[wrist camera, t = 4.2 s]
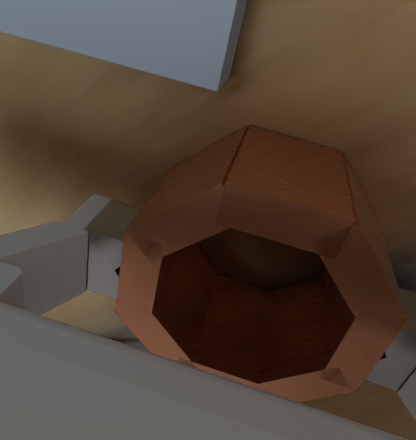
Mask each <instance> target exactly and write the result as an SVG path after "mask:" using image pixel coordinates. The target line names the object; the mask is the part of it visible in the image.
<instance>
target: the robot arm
mask: <svg viewBox="0 0 416 440" xmlns="http://www.w3.org/2000/svg"><path fill="white" fill-rule="evenodd" d="M141 209H142V208H139V207H136V206H133V205H130V204H127V203H124V202H121V201H117V200H113V199H112V198H108V197H105V196H102V195H98V194H93V195H91V196H90V197H89V198H88V199H87V200H86V201H85V202H84V203H83V204H82V205H81V206H80V207H79V208H78V209H77V210H76V211H75V212H73V213H72V214H71V215H70V216H69V217H68V218H67V219H66V220H65V221H64V222H63V223H60V222H53V223H48V224H44V225H40V226H36V227H32V228H28V229H24V230H20V231H16V232H12V233H8V234H4V235H0V440H409V439H406V438H403V437H400V436H397V435H394V434H391V433H388V432H385V431H382V430H379V429H376V428H373V427H370V426H367V425H364V424H362V423H359V422H356V421H353V420H350V419H347V418H344V417H341V416H338V415H335V414H332V413H329V412H326V411H323V410H320V409H317V408H314V407H311V406H308V405H305V404H302V403H299V402H296V401H293V400H290V399H287V398H284V397H281V396H278V395H275V394H272V393H270V392H267V391H264V390H261V389H258V388H255V387H252V386H249V385H246V384H243V383H240V382H237V381H234V380H231V379H228V378H225V377H222V376H219V375H216V374H213V373H210V372H207V371H204V370H201V369H198V368H195V367H192V366H189V365H186V364H183V363H180V362H177V361H174V360H171V359H168V358H165V357H162V356H160V355H157V354H154V353H151V352H148V351H145V350H142V349H139V348H136V347H133V346H130V345H127V344H124V343H121V342H118V341H115V340H112V339H109V338H106V337H103V336H100V335H97V334H94V333H91V332H88V331H85V330H82V329H79V328H76V327H73V326H70V325H67V324H64V323H61V322H58V321H55V320H52V319H49V318H46V317H43V316H40V315H41V314H43V313H45V312H47V311H49V310H51V309H53V308H55V307H57V306H59V305H60V304H62V303H64V302H66V301H68V300H70V299H72V298H74V297H76V296H78V295H80V294H81V293H83V292H85V291H86V290H89V291H92V292H96V293H99V294H102V295H106V296H109V297H112V298H116V299H117V290H118V281H119V272H120V263H121V253H122V244H123V235H124V232H125V230H126V229H127V228H128V226H129V225H130V224H131V222H132V221H133V220H134V218H135V217H136V216H137V214H138V213H139V212H140V210H141ZM399 291H400V295H401V298H402V302H403V305H404V308H405V312H406V315H407V318H406V319H407V322H406V323H405V325H404V326H403V327H402V329H401V330H400V332H399V333H398V334H397V336H396V337H395V339H394V340H393V341H392V343H391V344H390V346H389V347H388V348H387V350H386V351H385V353H384V354H383V355H382V357H381V358H380V360H379V361H378V362H377V364H376V365H375V367H374V368H373V369H372V371H371V372H370V374H369V375H368V376H367V378H366V379H365V380H366V381H369V382H372V383H375V384H377V385H380V386H383V387H386V388H389V389H392V390H394V391H397V392H398V393H397V394H398V395H399V397H400V398H401V400H402V402H403V403H404V405H405V406H406V408H407V409H408V411H409V412H410V414H411V415H412V417H413V418H414V420H415V421H416V293H415V292H412V291H408V290H405V289H401V288H399Z"/></svg>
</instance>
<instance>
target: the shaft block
mask: <svg viewBox="0 0 416 440" xmlns="http://www.w3.org/2000/svg"><path fill="white" fill-rule="evenodd" d="M246 4H247V0H0V32H4V33H8V34H11V35H15V36H18V37H22V38H26V39H29V40H33V41H37V42H40V43H44V44H47V45H51V46H55V47H58V48H62V49H65V50H69V51H73V52H76V53H80V54H83V55H87V56H91V57H94V58H98V59H101V60H105V61H109V62H112V63H116V64H120V65H123V66H127V67H130V68H134V69H138V70H141V71H145V72H148V73H152V74H156V75H159V76H163V77H166V78H170V79H174V80H177V81H181V82H185V83H188V84H192V85H195V86H199V87H203V88H206V89H210V90H213V91H218V90H219V89H220V88H221V87H222V86H223V84H224V83H225V82H226V81H227V80H228V79H229V77H230V73H231V69H232V64H233V60H234V56H235V51H236V47H237V43H238V38H239V34H240V30H241V25H242V21H243V17H244V13H245V8H246Z"/></svg>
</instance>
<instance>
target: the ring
mask: <svg viewBox="0 0 416 440" xmlns="http://www.w3.org/2000/svg"><path fill="white" fill-rule="evenodd" d="M229 228H234V229H237V230H240V231H243V232H247V233H250V234H253V235H257V236H260V237H263V238H266V239H270V240H273V241H276V242H280V243H283V244H286V245H289V246H293V247H296V248H299V249H303V250H306V251H309V252H312V253H316V254H319V256H320V258H321V259H322V261H323V263H324V264H325V268H324V270H323V272H322V274H321V275H320V276H317V277H314V278H311V279H307V280H304V281H301V282H298V283H295V284H292V285H289V286H286V287H283V288H280V289H277V290H274V291H271V292H270V291H266V290H263V289H260V288H257V287H254V286H251V285H247V284H244V283H241V282H238V281H235V280H232V279H228V278H225V277H222V276H219V275H218V274H217V272H216V271H215V269H214V268H213V267H212V265H211V264H210V262H209V261H208V259H207V258H206V257H205V255H204V254H203V252H202V251H201V250H200V248H199V247H198V245H197V244H196V242H199V241H201V240H203V239H206V238H208V237H210V236H213V235H215V234H217V233H220V232H222V231H224V230H227V229H229ZM115 311H116V312H117V313H116V314H117V315H118V316H119V317H120V319H121V320H122V321H123V322H124V323H125V324H126V326H127V327H128V328H129V329H130V330H131V331H132V332H133V334H134V335H135V336H136V337H137V338H138V339H139V341H140V342H141V343H142V344H143V345H144V346H145V347H146V349H147V350H148V351H149V352H151V353H154V354H157V355H160V356H162V357H165V358H168V359H171V360H174V361H177V362H180V363H183V364H186V365H189V366H192V367H195V368H198V369H201V370H204V371H207V372H210V373H213V374H216V375H219V376H222V377H225V378H228V379H231V380H234V381H237V382H240V383H243V384H246V385H249V386H252V387H255V388H258V389H261V390H264V391H267V392H270V393H272V394H275V395H278V396H281V397H284V398H287V399H290V400H293V401H296V402H303V401H309V400H314V399H320V398H325V397H331V396H336V395H342V394H347V393H353V392H355V391H354V390H356V391H357V390H358V389H359V388H360V386H361V385H362V383H363V382H364V381H365V379H366V378H367V376H368V375H369V374H370V372H371V371H372V369H373V368H374V367H375V365H376V364H377V362H378V361H379V360H380V358H381V357H382V355H383V354H384V353H385V351H386V350H387V348H388V347H389V346H390V344H391V343H392V341H393V340H394V339H395V337H396V336H397V334H398V333H399V332H400V330H401V329H402V327H403V326H404V325H405V323H406V322H407V319H406V318H407V315H406V312H405V308H404V305H403V302H402V298H401V295H400V291H399V288H398V284H397V281H396V278H395V274H394V271H393V267H392V264H391V261H390V257H389V254H388V250H387V247H386V243H385V240H384V237H383V233H382V230H381V227H380V225H379V222H378V220H377V218H376V216H375V214H374V212H373V210H372V208H371V206H370V204H369V202H368V200H367V198H366V196H365V194H364V192H363V190H362V188H361V186H360V184H359V182H358V180H357V178H356V176H355V174H354V172H353V170H352V168H351V166H350V164H349V162H348V160H347V158H346V156H345V154H344V153H343V154H342V151H340V150H336V149H333V148H329V147H326V146H322V145H319V144H315V143H311V142H308V141H304V140H301V139H297V138H294V137H290V136H287V135H283V134H280V133H276V132H273V131H269V130H265V129H262V128H258V127H255V126H251V125H250V127H249V128H248V126H245V127H244V128H242V129H240V130H238V131H236V132H235V133H233V134H231V135H229V136H227V137H225V138H224V139H222V140H220V141H218V142H216V143H215V144H213V145H211V146H209V147H207V148H206V149H204V150H202V151H200V152H198V153H197V154H195V155H193V156H191V157H189V158H187V159H186V160H184V161H182V162H180V163H178V164H177V165H175V166H174V167H173V168H172V169H171V171H170V172H169V173H168V175H167V176H166V177H165V179H164V180H163V181H162V183H161V184H160V185H159V187H158V188H157V189H156V191H155V192H154V193H153V195H152V196H151V197H150V198H149V200H148V201H147V202H146V204H145V205H144V206H143V208H142V209H141V210H140V212H139V213H138V214H137V216H136V217H135V218H134V220H133V221H132V222H131V224H130V225H129V226H128V228H127V229H126V230H125V232H124V235H123V244H122V253H121V263H120V272H119V281H118V290H117V299H116V308H115Z"/></svg>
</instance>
